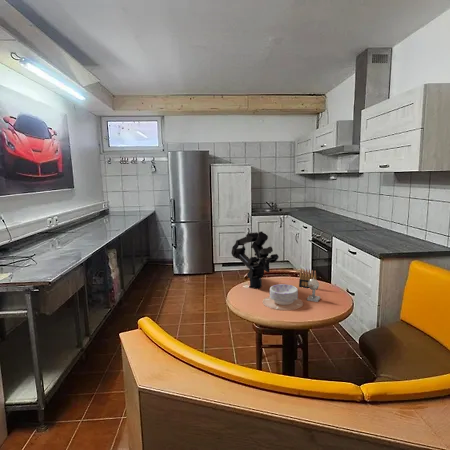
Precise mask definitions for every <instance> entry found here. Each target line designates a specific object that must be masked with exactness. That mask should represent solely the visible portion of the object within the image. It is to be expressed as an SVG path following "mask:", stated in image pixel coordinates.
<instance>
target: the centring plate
mask: <svg viewBox="0 0 450 450" xmlns="http://www.w3.org/2000/svg"><path fill="white" fill-rule="evenodd" d="M262 304H263V305H264V306H265V307H267V308H270V309H271V310H276V311H293V310H298V309H301V308H302V307H303V306H304V302H303V300H302V299H301V298H299V297H298V298H297V299H296V300H294V302H293V303H292V304H289V305H279V304H277V303H275V302H274V300H272V299H271V298H270V295H269V296H267V297H264V298H263V300H262Z"/></svg>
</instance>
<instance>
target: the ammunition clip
mask: <svg viewBox="0 0 450 450" xmlns="http://www.w3.org/2000/svg"><path fill="white" fill-rule="evenodd" d="M311 279H316V280H317V272H316V270H313V269H311V270H310V269H307V268H306V269H305V268H303V269H302V268H300V270H299V281H298V282H299V283H298V288H302V287H303V289H308V288H309V287H308V282H309V280H311Z"/></svg>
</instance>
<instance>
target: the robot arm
mask: <svg viewBox="0 0 450 450" xmlns="http://www.w3.org/2000/svg"><path fill="white" fill-rule="evenodd" d="M268 238H269V235H267V234H266V233H265V232H263V231H259V232H257V231H256V232H249V233H247V234H246V235H245V236H243V237H242V238H239V239H236V241H235V244H234V245H233V246H232V248H231V253H230V254H231V256H232V257H233V258H234V259H237V260H239V261H241V263H243V265H244V266H246V267H247V268H248V272H247V277H248V279H249V286H248V288H251V289H258V290H259V289H260V288H261V287H263V284H262V283H263V282H262V281H263V280H262V278H264V275H265V274H264V273H265V272H266V273H270V270H271V269H270V264H272V263H276V262H277V260H278V259H279V258H280V257H279V255H278V254H277V253H273V251H274V250H273V249H274V248H273V247H272V246H268V247H263V246H264V245H265V244H266V243H267V241H268ZM249 243H251V245H250V248H251V249H253V252H254V256H250V257H249V256H248V255H246V247H245V245H246V244H249ZM239 246H241V247H239ZM271 253H272V254H271ZM270 254H271V255H270Z"/></svg>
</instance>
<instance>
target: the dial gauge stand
mask: <svg viewBox="0 0 450 450" xmlns="http://www.w3.org/2000/svg"><path fill="white" fill-rule="evenodd" d="M308 287H309V288H310V289H309V290H312V291H311V292H312V293H311V294H309V295H308V296H307V297H306V301H310V302H314V303H315V302H316V303H318V302H319V301H320V299H321V296H319V295H316V290H318V288H320V283H319V281H318V280H317V278H316V279H314V278H313V279H311V280H309V282H308Z"/></svg>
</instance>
